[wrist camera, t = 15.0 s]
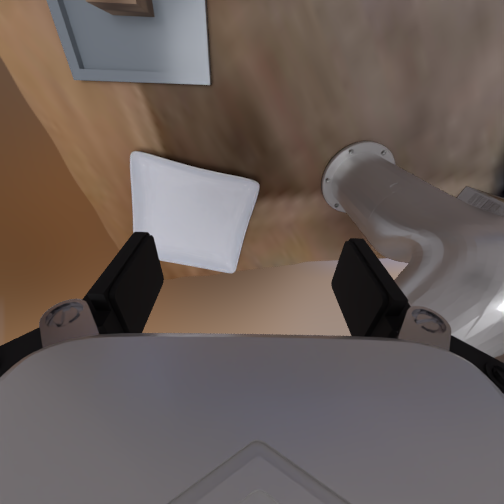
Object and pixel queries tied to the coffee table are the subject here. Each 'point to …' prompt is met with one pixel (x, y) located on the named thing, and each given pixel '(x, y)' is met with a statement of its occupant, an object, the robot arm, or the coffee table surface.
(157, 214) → the salad plate
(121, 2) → the walnut block
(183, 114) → the coffee table surface
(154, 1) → the slate dish
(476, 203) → the coffee box
